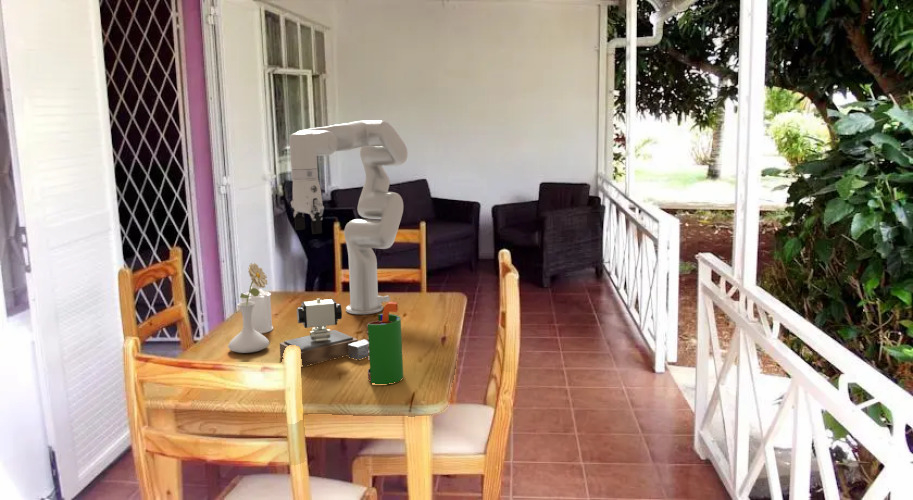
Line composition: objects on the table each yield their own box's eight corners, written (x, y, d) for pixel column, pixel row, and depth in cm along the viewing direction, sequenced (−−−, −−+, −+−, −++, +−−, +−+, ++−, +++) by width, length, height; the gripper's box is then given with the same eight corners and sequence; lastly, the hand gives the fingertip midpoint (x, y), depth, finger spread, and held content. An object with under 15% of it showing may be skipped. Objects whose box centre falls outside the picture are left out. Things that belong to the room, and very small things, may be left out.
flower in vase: (247, 358, 203) (242, 270, 198) (220, 352, 209) (213, 266, 204) (282, 346, 214) (277, 262, 209) (254, 340, 220) (249, 258, 215)
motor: (368, 372, 191) (366, 298, 187) (403, 371, 192) (401, 296, 188) (367, 386, 181) (364, 308, 177) (403, 384, 182) (401, 306, 178)
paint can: (236, 330, 230) (232, 268, 226) (262, 324, 237) (258, 263, 233) (255, 337, 223) (251, 273, 219) (281, 330, 230) (277, 268, 226)
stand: (336, 343, 216) (335, 328, 215) (358, 353, 207) (357, 337, 206) (280, 356, 204) (279, 341, 203) (301, 367, 195) (300, 351, 194)
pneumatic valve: (343, 340, 203) (341, 298, 201) (300, 345, 199) (298, 302, 197) (339, 335, 208) (337, 294, 206) (297, 339, 204) (295, 297, 202)
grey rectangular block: (364, 352, 207) (364, 339, 207) (374, 355, 205) (373, 342, 204) (348, 358, 203) (347, 344, 202) (358, 361, 200) (357, 347, 200)
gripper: (331, 175, 213) (334, 233, 216) (301, 172, 226) (304, 226, 229) (308, 177, 208) (312, 237, 212) (279, 174, 221) (283, 229, 224)
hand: (308, 231), depth 220 cm, fingers open, 9 cm apart
